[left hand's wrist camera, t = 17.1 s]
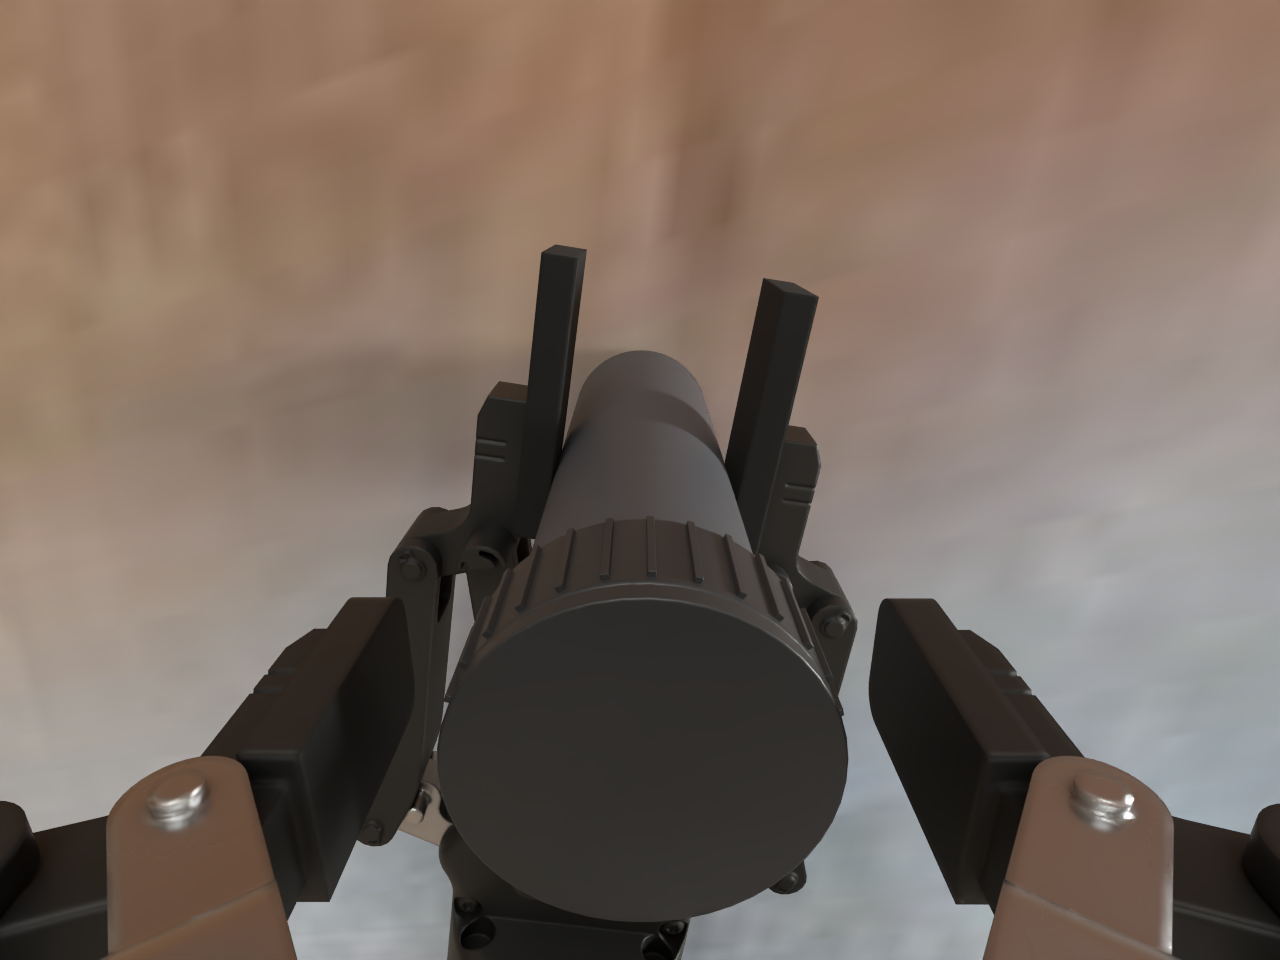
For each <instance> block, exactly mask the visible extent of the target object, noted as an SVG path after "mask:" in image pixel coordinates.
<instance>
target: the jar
mask: <svg viewBox="0 0 1280 960" xmlns="http://www.w3.org/2000/svg"><path fill="white" fill-rule="evenodd" d="M647 516H654V519H656V520H667V521H674V522H679V523H684V524H687V521H691V522H695V526H697V527H700V528H702V529H705V530H708V531H711V532H714V533H717V534H719V535H721V536H723V537H724V535H725V534H728V535H730V536H732V538H733V542H735V543H737V544H739V545H741V546H742V547H744V548H745V549H747V550H748V551H750V552H751V553H752V550H751V547H750V543H749V540H748V537H747V534H746V531H745V528H744V524H743V521H742V518H741V515H740V512H739V509H738V505H737V502H736V499H735V496H734V493H733V489H732V486H731V483H730V480H729V477H728V474H727V470H726V467H725V464H724V461H723V458H722V454H721V451H720V448H719V445H718V442H717V439H716V435H715V432H714V429H713V426H712V423H711V420H710V416H709V413H708V410H707V407H706V404H705V400H704V397H703V394H702V392H701V389H700V387H699V385H698V383H697V381H696V380H695V378H694V377H693V376H692V374H691V373H690V372H689V371H688V370H687V369H686V368H685V367H684V366H683V365H681V364H680V363H679V362H677V361H676V360H674V359H672V358H670V357H668V356H666V355H663V354H660V353H657V352H651V351H630V352H626V353H622V354H619V355H616V356H614V357H612V358H610V359H608V360H606V361H605V362H603V363H602V364H601V365H599V366H598V367H597V368H596V369H595V370H594V371H593V372H592V373H591V374H590V376H589V377H588V378H587V380H586V381H585V383H584V385H583V387H582V389H581V392H580V394H579V397H578V401H577V404H576V407H575V411H574V414H573V417H572V420H571V424H570V427H569V430H568V433H567V437H566V440H565V443H564V447H563V450H562V453H561V456H560V460H559V463H558V466H557V470H556V473H555V476H554V479H553V483H552V486H551V489H550V492H549V496H548V499H547V502H546V506H545V509H544V512H543V515H542V519H541V522H540V525H539V529H538V532H537V535H536V538H535V542H534V545H533V547H535V546H536V545H539V546H540V548H541V547H543V546H544V545H546V544H548V543H550V542H551V541H553V540H555V539H556V538H559V537H561V536H564V535H566V532H567V530H568V529H571V528H574V529H575V531H576V530H578V529H582V528H585V527H589V526H592V525H596V524H600V523H605V521H606V519H608V518H613V520H614V521H618V520H626V519H647ZM752 554H753V553H752Z"/></svg>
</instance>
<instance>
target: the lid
mask: <svg viewBox="0 0 1280 960" xmlns="http://www.w3.org/2000/svg"><path fill="white" fill-rule="evenodd" d="M833 680H834V678H833V676H832V673H831V671H830V668H829V666H828V664H827V661H826V659H825V656H824V654H823V651H822V649H821V646H820V644H819V641H818V639H817V636H816V634H815V631H814V629H813V626H812V624H811V621H810V619H809V616H808V614H807V611H806V609H805V608H801V609H799V606H798V604H797V601H796V599H795V596H794V593H793V591H792V588H791V586H790V583H789V582H788V580H787V579H786V578H785V579H784V580H782V581H781V580H780V578H779V577H778V576H777V575H776V574H775V573H774V571H773V570H772V569H770V568H769V567H768V566H767V564H766V561H765V558H764V556H762V555H761V554H760V553H758V554H757V555H756V556H755V555H754V554H752V553H751V552H750V551H748V550H747V549H745V548H744V547H742V546H741V545H739V544H737V543H735V542H733V538H732V536H730V535H728V534H725V535H724V537H723V536H721V535H719V534H717V533H714V532H711V531H708V530H705V529H702V528H700V527H697V526H695V522H691V521H687V524H684V523H679V522H674V521H667V520H656V519H654V516H647V519H626V520H618V521H614V520H613V518H608V519H606V521H605V523H600V524H596V525H592V526H589V527H585V528H582V529H578V530H576V531H575V529H574V528H571V529H568V530H567V532H566V535H564V536H561V537H559V538H556V539H555V540H553V541H551V542H550V543H548V544H546V545H544V546H543V547H541V548H540V546H539V545H536V546H535V547H533V548H532V551H531V554H530V555H529V556H528V557H527V558H526V559H524V560H523V561H522V562H520V563H519V564H518V565H517V566H516V567H515V568H514V569H513V570H511V569H510V568H508V569H507V570H506V571H505V572H504V574H503V577H502V579H501V582H500V585H499V587H498V588H497V589H496V591H495V592H494V593H493V595H492V597H489V596H486V597H485V598H484V600H483V602H482V605H481V608H480V610H479V613H478V615H477V618H476V620H475V623H474V626H472V628H471V631H470V633H469V636H468V639H467V641H466V644H465V646H464V649H463V651H462V654H461V657H460V659H459V662H458V664H457V667H456V669H455V672H454V675H453V677H452V680H451V682H450V685H449V687H448V690H447V693H446V695H445V699H444V702H448V703H449V704H448V707H447V710H446V713H445V716H444V719H443V722H442V725H441V729H440V735H439V741H438V747H437V771H438V777H439V783H440V788H441V793H442V796H443V799H444V802H445V805H446V808H447V811H448V813H449V815H450V817H451V819H452V821H453V823H454V825H455V827H456V829H457V831H458V832H459V833H460V835H461V836H462V838H463V839H464V840H465V842H466V843H467V845H468V846H469V847H470V849H471V850H472V851H473V852H474V853H475V854H476V855H477V856H478V857H479V858H480V859H481V860H482V862H483V863H484V864H485V865H486V866H488V867H489V868H490V869H491V870H492V871H494V872H495V873H496V874H497V875H499V876H500V877H501V878H502V879H503V880H505V881H507V882H508V883H510V884H511V885H513V886H514V887H516V888H517V889H519V890H520V891H522V892H524V893H526V894H528V895H530V896H532V897H534V898H536V899H538V900H540V901H542V902H544V903H547V904H550V905H552V906H555V907H558V908H560V909H563V910H566V911H569V912H573V913H577V914H581V915H584V916H588V917H594V918H600V919H606V920H612V921H627V922H661V921H670V920H679V919H686V918H690V917H695V916H700V915H704V914H709V913H712V912H715V911H718V910H721V909H724V908H728V907H731V906H733V905H735V904H738V903H740V902H742V901H744V900H747V899H749V898H751V897H753V896H755V895H757V894H759V893H760V892H762V891H764V890H766V889H767V888H769V887H771V886H773V885H774V884H775V883H777V882H778V881H779V880H781V879H782V878H784V877H785V876H786V875H788V874H789V873H790V872H792V871H793V870H794V869H795V868H796V867H797V866H798V865H799V864H800V863H801V862H802V861H803V860H804V859H806V858H807V857H808V855H809V854H810V853H811V852H812V850H813V849H814V848H815V847H816V846H817V844H818V843H819V842H820V841H821V839H822V838H823V836H824V835H825V833H826V831H827V830H828V828H829V827H830V825H831V823H832V822H833V819H834V817H835V815H836V812H837V810H838V808H839V805H840V803H841V800H842V796H843V792H844V788H845V784H846V779H847V768H848V749H847V737H846V733H845V729H844V725H843V721H842V717H841V716H843V715H844V712H843V708H842V706H841V703H840V700H839V698H838V695H837V693H836V690H835V688H834V685H833V683H832V681H833Z"/></svg>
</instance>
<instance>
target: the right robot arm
mask: <svg viewBox="0 0 1280 960" xmlns="http://www.w3.org/2000/svg"><path fill="white" fill-rule="evenodd" d="M586 251H587V250H586V249H580V248H574V247H568V246H561V245H554V246H552V247H550V248H549V249H547V250H545V251H543V252H542V253H541V263H540V272H539V282H538V292H537V302H536V312H535V321H534V331H533V341H532V351H531V361H530V371H529V380H528V386H527V385H520V384H513V383H507V382H500V381H499V382H498V383H497V385H496V386H495V387H494V389H493V390H492V391H491V393H490V394H489V395H488V397H487V399H486V401H485V403H484V404H483V406H482V408H481V410H480V412H479V414H478V419H477V432H476V445H475V458H474V470H473V483H472V496H471V504H470V505H468V506H466V507H463V508H460V509H454V510H446V509H444V508H441V507H431V508H428V509H426V510H424V511H423V512H422V513H421V514H420V515H419V516H418V517H417V519H416V520H415V522H414V523H413V524H412V526H411V527H410V529H409V530H408V532H407V533H406V534H405V536H404V537H403V539H402V540H401V542H400V543H399V545H398V546H397V547H396V549H395V550H394V552H393V553H392V555H391V556H390V559H389V562H388V570H387V588H386V597H398V598H400V599H401V600H402V601H403V604H404V607H405V612H406V619H407V626H408V634H409V641H410V649H411V656H412V664H413V671H414V680H415V696H414V704H413V710H412V714H411V717H410V720H409V723H408V725H407V727H406V729H405V732H404V734H403V736H402V738H401V741H400V743H399V745H398V748H397V750H396V752H395V754H394V757H393V759H392V761H391V763H390V766H389V768H388V770H387V772H386V775H385V777H384V779H383V782H382V784H381V786H380V788H379V791H378V793H377V795H376V797H375V800H374V802H373V804H372V806H371V809H370V811H369V813H368V816H367V818H366V820H365V822H364V825H363V827H362V829H361V831H360V834H359V836H358V838H357V840H358V841H360V842H361V843H363V844H365V845H369V846H382V845H384V844H387V843H388V842H389V841H390V840H391V839H392V838H393V836H394V835H395V833H396V831H397V830H401V831H403V832H406V833H408V834H410V835H413V836H415V837H418V838H420V839H423V840H425V841H428V842H430V843H432V844H435V845H437V846H439V859H440V863H441V865H442V868H443V870H444V871H445V873H446V874H447V876H448V877H449V879H450V881H451V884H452V887H453V900H452V912H451V923H450V935H449V946H448V958H447V960H681V956H682V952H683V949H684V945H685V941H686V936H687V932H688V927H689V922H690V919H691V917H690V918H686V919H679V920H670V921H661V922H627V921H612V920H606V919H600V918H594V917H588V916H584V915H581V914H577V913H573V912H569V911H566V910H563V909H560V908H558V907H555V906H552V905H550V904H547V903H544V902H542V901H540V900H538V899H536V898H534V897H532V896H530V895H528V894H526V893H524V892H522V891H520V890H519V889H517V888H516V887H514V886H513V885H511V884H510V883H508V882H507V881H505V880H503V879H502V878H501V877H500V876H499V875H497V874H496V873H495V872H494V871H492V870H491V869H490V868H489V867H488V866H486V865H485V864H484V863H483V862H482V860H481V859H480V858H479V857H478V856H477V855H476V854H475V853H474V852H473V851H472V850H471V849H470V847H469V846H468V845H467V843H466V842H465V840H464V839H463V838H462V836H461V835H460V833H459V832H458V831H457V829H456V827H455V825H454V823H453V821H452V819H451V817H450V815H449V813H448V811H447V808H446V805H445V802H444V799H443V796H442V793H441V788H440V783H439V777H438V771H437V751H433V748H434V746H435V743H436V740H437V737H438V734H439V731H440V728H441V722H442V715H443V704H444V694H445V683H446V672H447V662H448V651H449V641H450V630H451V619H452V609H453V598H454V587H455V577H456V574H460V573H466V574H467V580H468V586H469V592H470V597H471V603H472V609H473V615H474V620H476V618H477V615H478V613H479V610H480V608H481V605H482V602H483V600H484V598H485V597H486V596H489V597H492V595H493V593H494V592H495V591H496V589H497V588H498V587H499V585H500V582H501V579H502V577H503V574H504V572H505V571H506V570H507V569H508V568H510V569H511V570H513V569H514V568H515V567H516V566H517V565H518V564H519V563H520V562H522V561H523V560H524V559H526V558H527V557H528V556H529V555H530V554H531V551H532V546H531V539H535V538H536V535H537V532H538V529H539V525H540V522H541V519H542V515H543V512H544V509H545V506H546V502H547V499H548V496H549V492H550V489H551V486H552V483H553V479H554V476H555V473H556V470H557V466H558V463H559V460H560V456H561V453H562V446H563V438H564V430H565V422H566V414H567V406H568V398H569V390H570V381H571V373H572V365H573V357H574V349H575V341H576V333H577V325H578V316H579V308H580V300H581V292H582V284H583V276H584V268H585V260H586ZM818 298H819V297H818V296H816V295H814V294H812V293H811V292H809V291H807V290H805V289H803V288H802V287H800V286H798V285H796V284H794V283H790V282H784V281H778V280H772V279H766V278H763V283H762V287H761V292H760V297H759V302H758V306H757V311H756V316H755V321H754V326H753V330H752V335H751V340H750V345H749V349H748V354H747V359H746V364H745V368H744V373H743V378H742V383H741V387H740V392H739V397H738V402H737V407H736V411H735V416H734V421H733V426H732V430H731V435H730V440H729V445H728V449H727V454H726V459H725V467H726V470H727V474H728V477H729V480H730V483H731V486H732V489H733V493H734V496H735V499H736V502H737V505H738V509H739V512H740V515H741V518H742V521H743V524H744V528H745V531H746V534H747V537H748V540H749V543H750V547H751V550H752V553H753V554H754V555H755V556H756V555H757V554H758V553H760V554H761V555H762V556H764V558H765V561H766V564H767V566H768V567H769V568H770V569H772V570H773V571H774V573H775V574H776V575H777V576H778V577H779V578H780V580H781V581H782V580H784V579H785V578H786V579H787V580H788V582H789V583H790V586H791V588H792V591H793V593H794V596H795V599H796V601H797V604H798V606H799V609H801V608H805V609H806V611H807V614H808V616H809V619H810V621H811V624H812V626H813V629H814V631H815V634H816V636H817V639H818V641H819V644H820V646H821V649H822V651H823V654H824V656H825V659H826V661H827V664H828V666H829V668H830V671H831V673H832V676H833V678H834V680H833V681H832V683H833V685H834V688H835V690H836V693H837V695H838V694H839V691H840V687H841V684H842V680H843V677H844V673H845V669H846V666H847V662H848V659H849V655H850V652H851V648H852V645H853V641H854V638H855V634H856V631H857V619H856V617H855V614H854V612H853V610H852V609H851V606H850V604H849V602H848V600H847V598H846V596H845V594H844V592H843V591H842V589H841V587H840V585H839V583H838V581H837V579H836V577H835V576H834V574H833V572H832V570H831V568H830V567H829V566H828V565H826V564H825V563H823V562H819V561H807V560H805V559H803V558H802V557H800V556H798V552H799V549H800V545H801V541H802V537H803V533H804V529H805V526H806V522H807V518H808V514H809V510H810V504H811V502H812V499H813V495H814V489H815V487H816V483H817V480H818V476H819V472H820V468H821V464H820V457H819V450H818V445H817V444H816V442H815V441H814V439H813V438H812V437H811V435H810V434H809V433H808V431H807V430H806V428H803V427H796V426H789V425H788V424H789V420H790V416H791V412H792V407H793V403H794V399H795V395H796V391H797V386H798V382H799V378H800V374H801V370H802V365H803V361H804V357H805V353H806V349H807V344H808V340H809V336H810V332H811V328H812V324H813V319H814V315H815V311H816V307H817V303H818ZM530 538H531V539H530ZM806 877H807V876H806V871H805V865H804V860H803V861H802V862H801V863H800V864H799V865H798V866H797V867H796V868H795V869H794V870H793V871H792V872H790V873H789V874H788V875H786V876H785V877H784V878H782V879H781V880H779V881H778V882H777V883H775V884H774V885H773V886H771V887H769V889H771V890H772V891H773V892H776V893H779V894H791V893H794V892H797V891H798V890H800V889H801V888H803V886H804V884H805V883H806Z"/></svg>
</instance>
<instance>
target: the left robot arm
mask: <svg viewBox="0 0 1280 960" xmlns="http://www.w3.org/2000/svg"><path fill="white" fill-rule="evenodd" d="M414 696H415V680H414V671H413V664H412V656H411V649H410V641H409V634H408V626H407V619H406V612H405V607H404V604H403V601H402V600H401V599H400V598H398V597H353V598H350V599H349V600H348V601H347V602H346V603H345V605H344V606H343V607H342V609H341V610H340V611H339V613H338V614H337V616H336V617H335V618H334V620H333V621H332V622H331V624H330V625H329V627H328V628H327V629H313V630H312V631H310V632H309V633H307V634H306V635H304V636H303V637H301V638H300V639H298V640H297V641H295V642H294V643H292V644H291V645H289V646H288V647H286V648H285V650H284V651H283V652H282V653H281V655H280V656H279V657H278V659H277V660H276V661H275V662H274V664H273V665H272V666H271V667H270V669H269V670H268V675H264V676H263V678H262V679H261V680H260V681H259V683H258V684H257V685H256V686H255V688H254V692H253V694H249V695H248V697H247V698H246V699H245V700H244V702H243V703H242V704H241V706H240V707H239V708H238V709H237V711H236V712H235V713H234V714H233V716H232V717H231V718H230V720H229V721H228V722H227V723H226V725H225V726H224V727H223V728H222V730H221V731H220V732H219V733H218V735H217V736H216V737H215V739H214V740H213V741H212V742H211V744H210V745H209V746H208V747H207V749H206V750H205V751H204V753H203V754H202V755H201V756H200V757H196V758H191V759H186V760H183V761H180V762H177V763H174V764H171V765H169V766H166V767H164V768H162V769H160V770H158V771H156V772H154V773H152V774H150V775H148V776H147V777H145V778H144V779H142V780H140V781H139V782H138V783H136V784H135V785H134V786H132V787H131V788H130V789H129V790H128V791H127V792H126V793H124V794H123V795H122V796H121V798H120V799H119V800H118V801H117V802H116V803H115V805H114V807H113V808H112V810H111V811H110V814H109V815H108V816H104V817H100V818H96V819H92V820H87V821H83V822H79V823H74V824H70V825H66V826H61V827H57V828H53V829H48V830H44V831H40V832H35V833H33V832H32V830H31V827H30V825H29V822H28V820H27V817H26V815H25V812H24V810H23V809H22V808H21V807H20V806H18V805H16V804H14V803H11V802H7V801H0V960H297V957H296V953H295V949H294V945H293V942H292V938H291V934H290V930H289V926H288V923H287V921H288V919H289V917H290V915H291V913H292V911H293V908H294V906H295V904H296V902H330V899H331V897H332V895H333V893H334V890H335V888H336V886H337V884H338V881H339V879H340V877H341V874H342V872H343V870H344V868H345V865H346V863H347V861H348V859H349V856H350V854H351V852H352V850H353V847H354V845H355V843H356V840H357V838H358V836H359V834H360V831H361V829H362V827H363V825H364V822H365V820H366V818H367V816H368V813H369V811H370V809H371V806H372V804H373V802H374V800H375V797H376V795H377V793H378V791H379V788H380V786H381V784H382V782H383V779H384V777H385V775H386V772H387V770H388V768H389V766H390V763H391V761H392V759H393V757H394V754H395V752H396V750H397V748H398V745H399V743H400V741H401V738H402V736H403V734H404V732H405V729H406V727H407V725H408V723H409V720H410V717H411V714H412V710H413V704H414ZM869 701H870V708H871V713H872V716H873V720H874V722H875V725H876V727H877V729H878V731H879V734H880V736H881V738H882V740H883V743H884V745H885V747H886V749H887V751H888V754H889V756H890V758H891V760H892V763H893V765H894V767H895V769H896V772H897V774H898V776H899V778H900V781H901V783H902V785H903V787H904V789H905V792H906V794H907V796H908V798H909V801H910V803H911V805H912V807H913V810H914V812H915V814H916V816H917V819H918V821H919V823H920V825H921V828H922V830H923V832H924V834H925V836H926V839H927V841H928V843H929V845H930V848H931V850H932V852H933V854H934V857H935V859H936V861H937V863H938V866H939V868H940V870H941V872H942V874H943V877H944V879H945V881H946V883H947V886H948V888H949V890H950V892H951V895H952V897H953V899H954V901H955V904H989V906H990V908H991V910H992V912H993V914H994V919H993V923H992V926H991V930H990V934H989V938H988V942H987V945H986V949H985V953H984V957H983V960H1280V804H1274V805H1270V806H1268V807H1266V808H1264V809H1262V811H1261V812H1260V813H1259V814H1258V817H1257V819H1256V822H1255V824H1254V827H1253V829H1252V832H1251V834H1250V835H1249V834H1245V833H1240V832H1236V831H1232V830H1227V829H1223V828H1219V827H1214V826H1210V825H1206V824H1201V823H1197V822H1193V821H1188V820H1184V819H1181V818H1177V817H1173V816H1171V814H1170V811H1169V810H1168V808H1167V807H1166V805H1165V803H1164V802H1163V801H1162V800H1161V799H1160V798H1159V796H1158V795H1157V794H1156V793H1154V792H1153V791H1152V790H1151V789H1150V788H1149V787H1148V786H1146V785H1145V784H1144V783H1142V782H1141V781H1140V780H1138V779H1136V778H1135V777H1133V776H1132V775H1130V774H1128V773H1126V772H1124V771H1122V770H1120V769H1118V768H1116V767H1114V766H1111V765H1109V764H1106V763H1103V762H1100V761H1097V760H1094V759H1089V758H1085V757H1084V756H1083V755H1082V753H1081V752H1080V751H1079V750H1078V748H1077V747H1076V746H1075V745H1074V743H1073V742H1072V741H1071V740H1070V738H1069V737H1068V736H1067V735H1066V733H1065V732H1064V731H1063V730H1062V728H1061V727H1060V726H1059V725H1058V723H1057V722H1056V721H1055V720H1054V718H1053V717H1052V716H1051V714H1050V713H1049V712H1048V711H1047V709H1046V708H1045V707H1044V706H1043V704H1042V703H1041V702H1040V701H1039V699H1038V698H1037V697H1036V696H1035V695H1032V693H1031V689H1030V688H1029V687H1028V686H1027V684H1026V683H1025V682H1024V681H1023V679H1022V678H1021V677H1020V676H1017V674H1016V670H1015V669H1014V668H1013V667H1012V665H1011V664H1010V663H1009V662H1008V660H1007V659H1006V658H1005V657H1004V655H1003V654H1002V653H1001V652H1000V650H999V649H997V648H996V647H995V646H993V645H992V644H990V643H989V642H987V641H986V640H984V639H983V638H981V637H980V636H978V635H977V634H975V633H974V632H972V631H971V630H957V629H956V627H955V626H954V624H953V623H952V622H951V620H950V619H949V618H948V616H947V615H946V614H945V612H944V611H943V609H942V608H941V607H940V605H939V604H938V603H937V602H936V601H935V600H934V599H884V600H883V601H882V602H881V604H880V607H879V611H878V618H877V625H876V633H875V640H874V648H873V655H872V662H871V670H870V677H869Z"/></svg>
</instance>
